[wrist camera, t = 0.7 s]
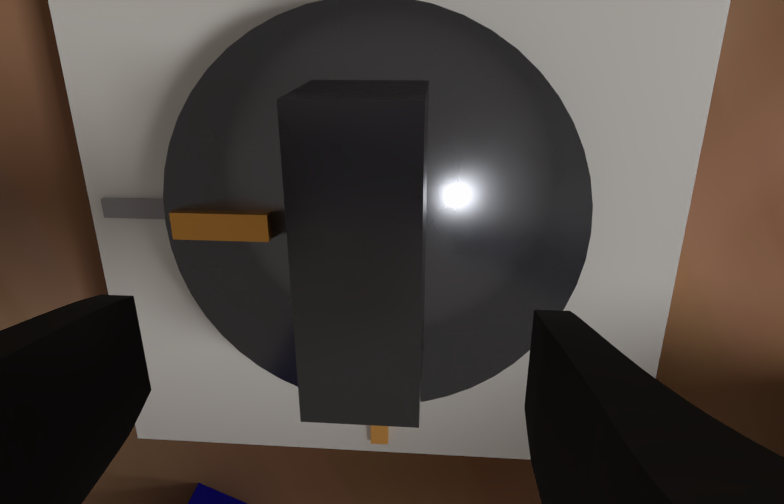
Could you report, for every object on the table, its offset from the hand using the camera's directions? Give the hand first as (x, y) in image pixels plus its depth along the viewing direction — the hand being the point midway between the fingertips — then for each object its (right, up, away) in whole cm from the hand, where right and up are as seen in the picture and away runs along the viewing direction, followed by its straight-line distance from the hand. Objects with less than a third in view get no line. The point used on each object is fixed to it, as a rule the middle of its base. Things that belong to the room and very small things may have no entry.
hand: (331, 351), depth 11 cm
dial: (+1, +3, +7) cm, 8 cm away
